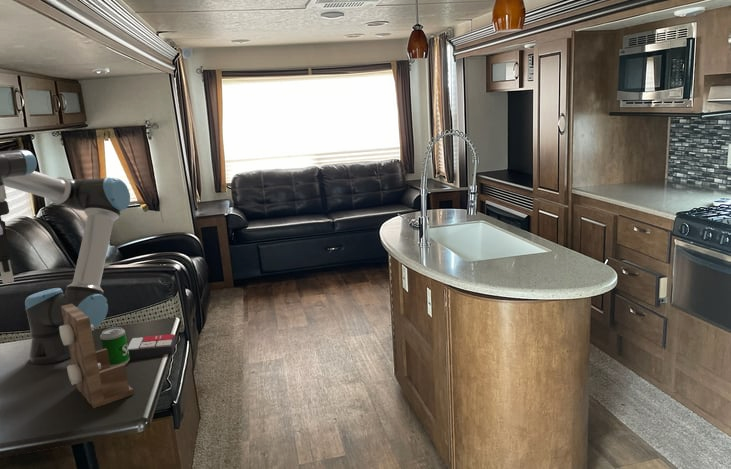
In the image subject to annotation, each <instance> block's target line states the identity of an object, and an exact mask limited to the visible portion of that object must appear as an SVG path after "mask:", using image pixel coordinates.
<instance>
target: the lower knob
mask: <svg viewBox="0 0 731 469" xmlns="http://www.w3.org/2000/svg"><path fill="white" fill-rule="evenodd" d="M66 369H67V376H68V379H69V383H70V384H71V385H72V386H74V385H76V384H77V383H80V382H82V374H81V369H80V367H79V365H78V364H77V363H75V364H72V363H71V364H69V365H67V366H66ZM98 369H101V364H100V363H98Z"/></svg>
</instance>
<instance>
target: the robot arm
mask: <svg viewBox="0 0 731 469" xmlns="http://www.w3.org/2000/svg"><path fill="white" fill-rule="evenodd" d="M37 165H38V164H37V158H36V157H35V155H34V154H33V152H31V151H29V150H27V149H14V150H3V151H0V276H1V282H2V284H3V285H4V284H8V283H13V282H15V279H14V274H13V269H12V264H11V260H10V259H11V258H12V257H11V254H10V250H9V249H10V248H9V243H8V236H7V228H6V227H7V226H6V221H4V220H2V217H1V216H5V215H8V214H9V213H10V208H9V203H8V201H7V200H6V199H7V193H6V187H7V188H11V189H14V190H18V191H20V192H21V191H22V192H25V193H27V194H31V195H35V196H39V197H41V198H46V199H48V200H49V201H50V202H51V203H52V204H53V203H54V204H55V205H60V206H63V207H66V208H69V209H73V210H77V211H83V212H84V214H85V215H86V216H87V217H86V221H85V227H84V232H83V235H82V239H81V244H80V248H79V252H78V258H77V261H76V266H75V270H74V274H73V278H72V282H71V283H69V284H68V285H67V286H66V288H65V292H64V291H63V289H62V288H60V287H54V288H48V289H46V290H42V291H38V292H35V293H33V294H31V295H29V296H27V297H26V298H25V300H24V305H25V306H24V307H25V308H24V310H25V313H26V319H27V321H28V322H27V323H28V327H29V330H30V331H29V332H30V335H31V343H30V344H31V345H30V349H29V359H30V363H31V364H33V365H48V364H54V363H57V362H59V363H60V362H61V361H64V360H68V359H71V356H70V351H69V346H68V345H64V344H63V342H62V339H61V336H60V330H59V327H60V326H63V325H64V320H63V315H62V310H61V306H64V305H68V304H73V305H74V306H76V307H77V308H78V309H79V310H81V311H82V312H83V313H84V314H86V315H87V316H88V317H89V320H90V325H92V324H93V326H94V329H95V328H97V327H99V325H101V324H102V323H103V322H104V321H105V319H106V317H107V314H108V312H109V304H108V299H107V297H105V296H104V290H103V289H102V287H101V283H102V277H103V275H104V274H103V273H104V269H105V264H106V259H107V256H108V255H107V254H108V250H109V245H110V240H111V236H112V231H113V226H114V222H115V221H116V220H119V218H120V215H121V211H125V210H127V208H129V206H130V203H131V195H130V194H131V193H130V190H129V189H128V185H127V184H126V183H125V182H124V180H121V179H120V178H118V177H104V178H101V177H100V178H82V179H79V178H78V179H76V178H75V179H71V178H67V177H61V176H60V177H59V176H58V177H54V176H51V175H49V174H45V173H42V172H40V171H36V169H37Z"/></svg>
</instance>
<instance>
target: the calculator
mask: <svg viewBox="0 0 731 469" xmlns="http://www.w3.org/2000/svg"><path fill="white" fill-rule="evenodd" d="M176 344H177V336H176V334H173V333H172V334H159V335H150V336H149V335H148V336H144V337H133V338H131V339H130V341H129V342H128V343H127V346H128V352H129V358H130V360H129V361H131V360H137V359H142V358H150V357H158V356H159V357H160V356H165V355H171V354H174V351H175V348H176Z"/></svg>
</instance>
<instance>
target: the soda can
mask: <svg viewBox="0 0 731 469" xmlns="http://www.w3.org/2000/svg"><path fill="white" fill-rule="evenodd" d="M101 332H102V333H101V334H99V339H100V345H101V350H102V349H105V348H106V349H107V350H108V356H109V361H110V367H114V366H117V365H120V364H125V366H126V365H128V363H129V361H131V360H130V358H129V352H128V341H127V340H128V339H127V336H126V335H127V334H126V330H125V329H124V328H122V327H119V326H116V327H115V326H113V327H108V328H107V329H104V330H103V331H101Z"/></svg>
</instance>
